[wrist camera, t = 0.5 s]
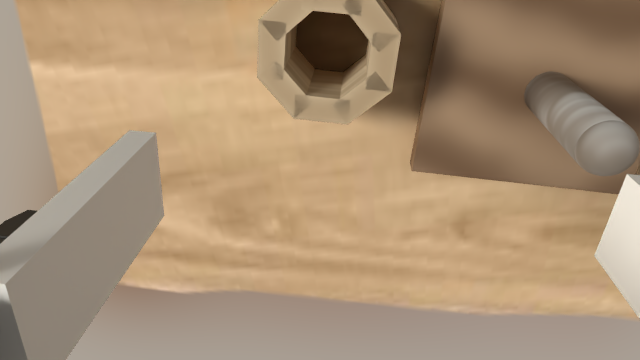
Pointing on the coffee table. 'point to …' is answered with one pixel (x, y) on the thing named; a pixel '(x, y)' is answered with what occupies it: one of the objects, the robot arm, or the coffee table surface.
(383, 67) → the collar
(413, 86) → the coffee table surface
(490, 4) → the post base
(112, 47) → the coffee table surface
